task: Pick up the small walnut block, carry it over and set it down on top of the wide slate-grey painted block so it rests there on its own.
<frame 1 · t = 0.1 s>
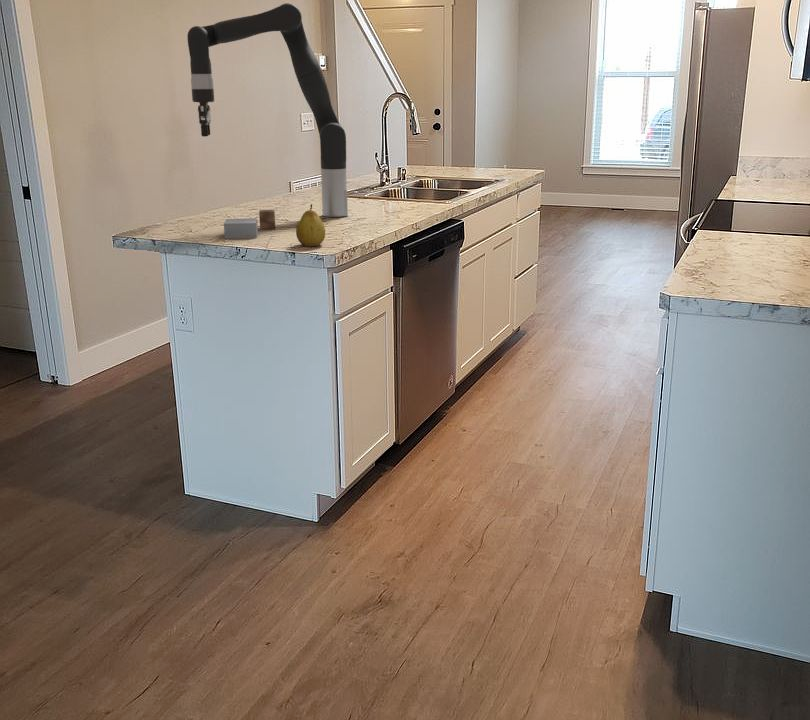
hand: (206, 135, 298), 29 cm above the worktop, fingers open, 8 cm apart
walnut block: (267, 228, 284), on the worktop
base block: (241, 236, 271), on the worktop
fruit: (311, 245, 254), on the worktop
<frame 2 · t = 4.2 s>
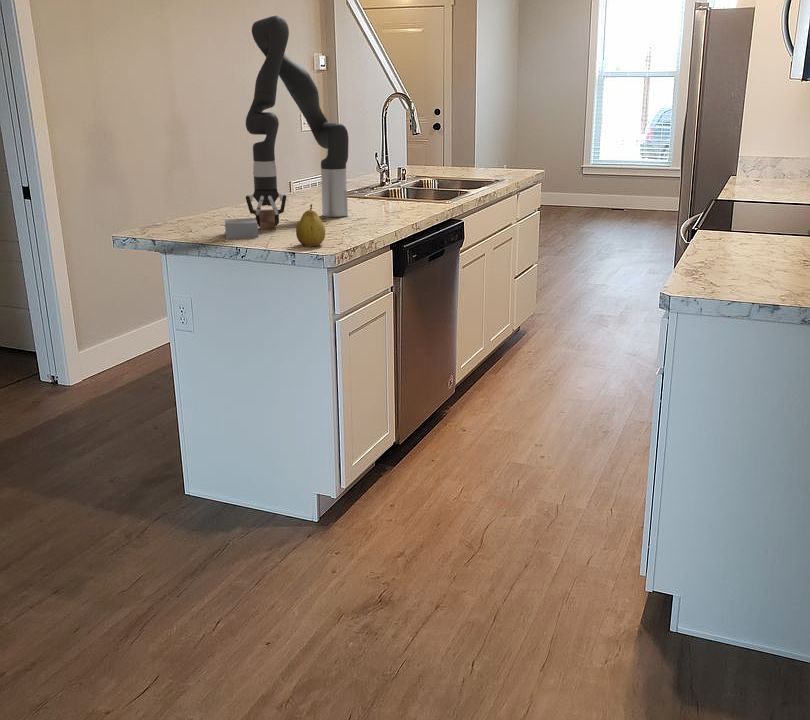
hand: (267, 225, 284), 1 cm above the worktop, fingers closed on walnut block, 5 cm apart
walnut block: (267, 228, 284), on the worktop, touching gripper
everything else where it was.
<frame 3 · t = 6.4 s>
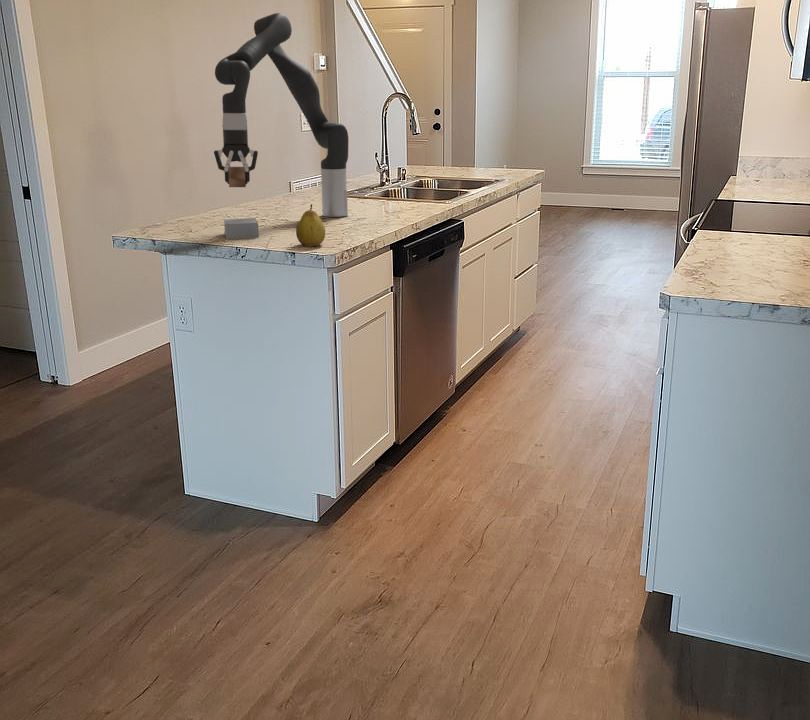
hand: (237, 183, 267), 16 cm above the worktop, fingers closed on walnut block, 5 cm apart
walnut block: (237, 186, 267), point 15 cm above the worktop, touching gripper
everything else where it was.
when the fingers open (7 cm above the worktop, at t = 8.9 s): walnut block drops 2 cm, resting on base block.
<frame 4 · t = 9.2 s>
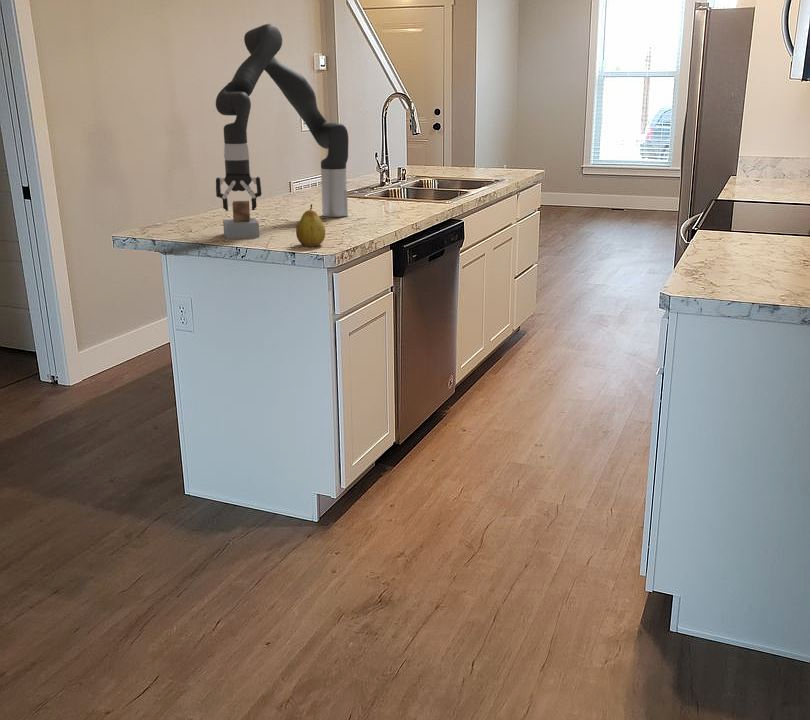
hand: (240, 210, 268), 8 cm above the worktop, fingers open, 8 cm apart
walnut block: (241, 220, 270), point 5 cm above the worktop, touching base block
base block: (241, 236, 271), on the worktop, touching walnut block
everything else where it was.
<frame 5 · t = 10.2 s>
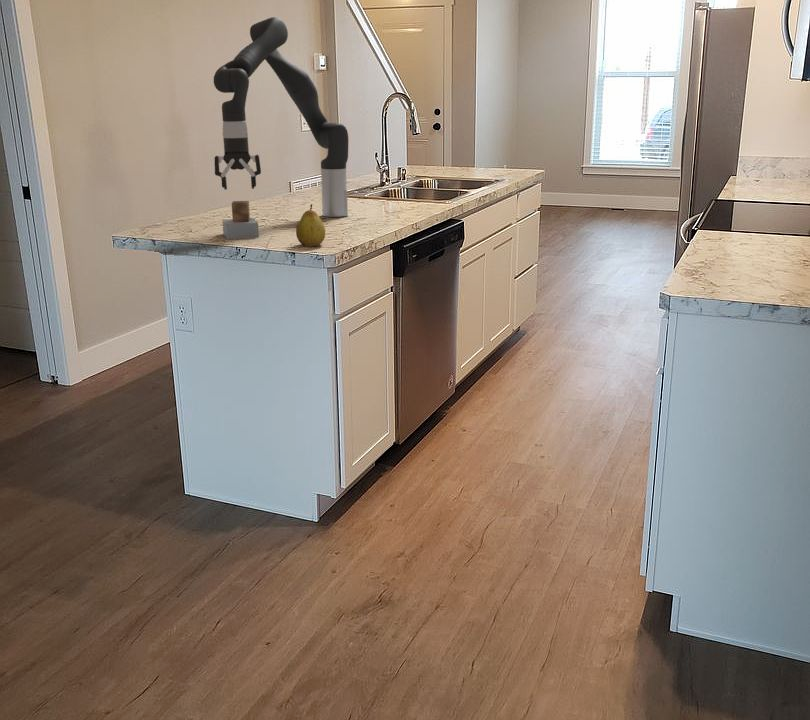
hand: (239, 188, 266), 15 cm above the worktop, fingers open, 8 cm apart
nothing on the worktop moved.
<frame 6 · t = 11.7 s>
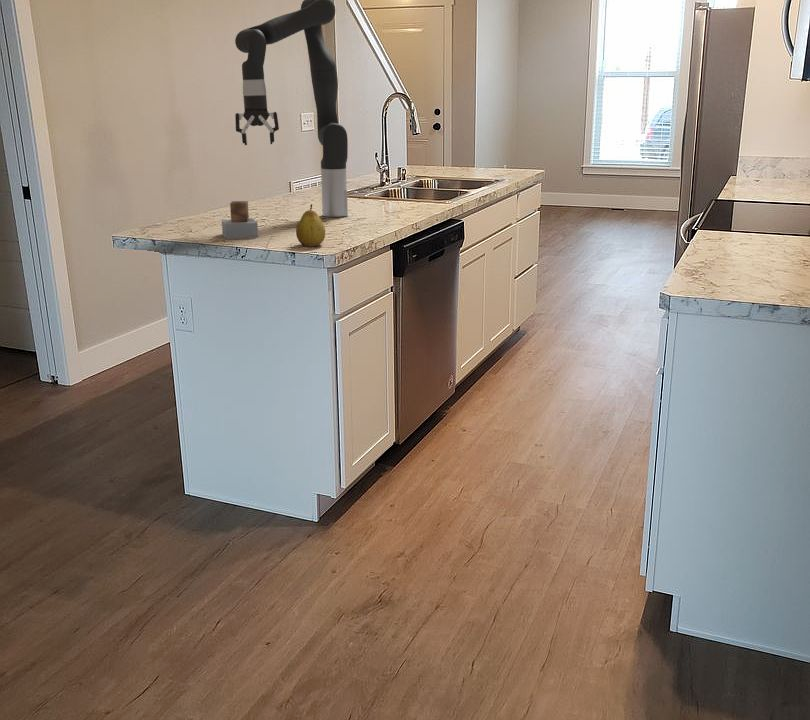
hand: (258, 144, 283), 27 cm above the worktop, fingers open, 8 cm apart
nothing on the worktop moved.
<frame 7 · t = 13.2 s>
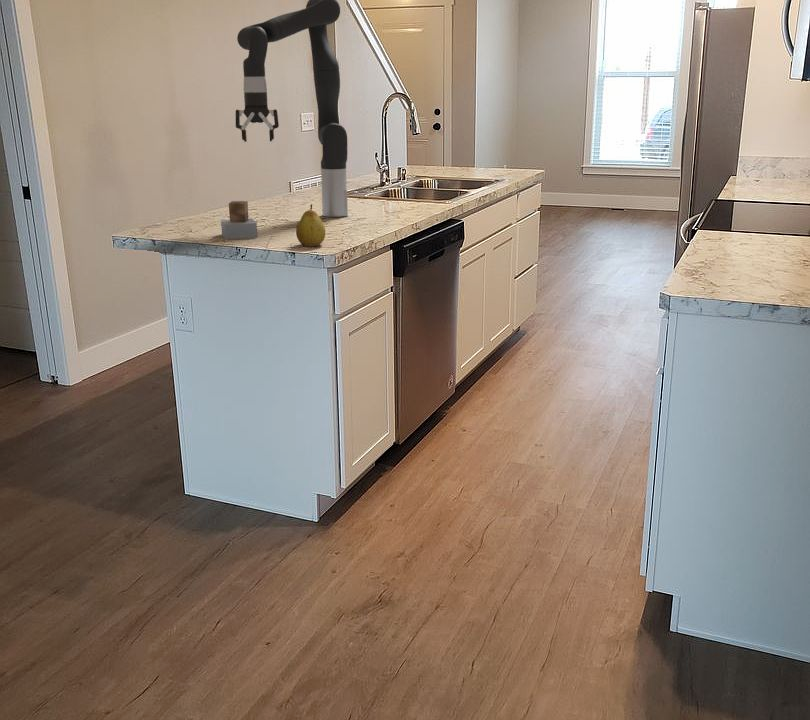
hand: (258, 141, 284), 28 cm above the worktop, fingers open, 8 cm apart
walnut block: (239, 221, 269), point 5 cm above the worktop
base block: (239, 237, 270), on the worktop
everything else where it was.
at the end: walnut block inside the target area on the base block (0.6 cm from its centre), point 5.0 cm above the base block's base; walnut block tilted 1°; the gripper is holding nothing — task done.
